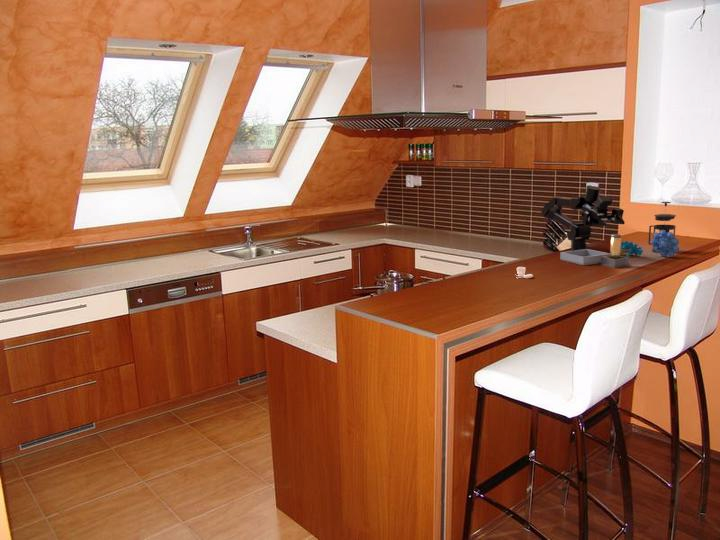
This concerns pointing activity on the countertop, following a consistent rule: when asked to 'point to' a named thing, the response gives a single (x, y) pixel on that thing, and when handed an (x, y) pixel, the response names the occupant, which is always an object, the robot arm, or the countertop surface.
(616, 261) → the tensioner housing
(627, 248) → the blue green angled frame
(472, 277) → the countertop surface
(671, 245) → the grapes
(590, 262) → the tray
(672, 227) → the french press
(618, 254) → the capped labeled canister
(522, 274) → the teacup and saucer
